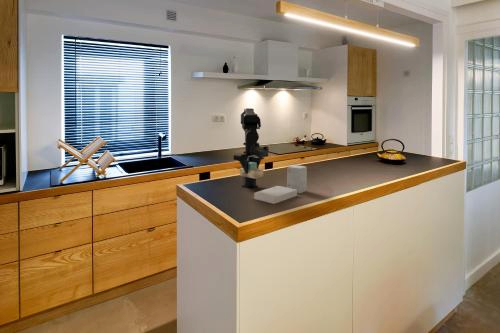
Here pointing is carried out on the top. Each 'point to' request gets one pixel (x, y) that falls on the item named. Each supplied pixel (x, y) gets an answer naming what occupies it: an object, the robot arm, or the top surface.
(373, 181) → the top surface
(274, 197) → the block
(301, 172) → the small box
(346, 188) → the top surface
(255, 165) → the crate
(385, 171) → the top surface
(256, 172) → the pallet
